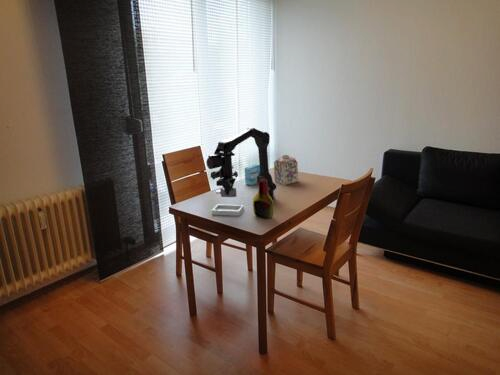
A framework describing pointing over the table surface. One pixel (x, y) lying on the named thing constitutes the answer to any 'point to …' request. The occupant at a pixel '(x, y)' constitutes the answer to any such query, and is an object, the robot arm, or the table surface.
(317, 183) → the table surface
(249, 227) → the table surface
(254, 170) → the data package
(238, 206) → the dock tray
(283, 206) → the table surface
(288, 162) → the decorative jar
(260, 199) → the bottle
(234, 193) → the plug
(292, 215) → the table surface
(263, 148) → the robot arm
